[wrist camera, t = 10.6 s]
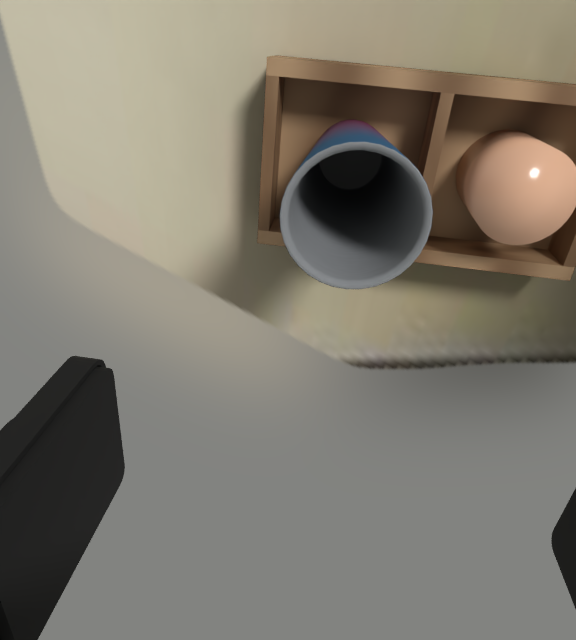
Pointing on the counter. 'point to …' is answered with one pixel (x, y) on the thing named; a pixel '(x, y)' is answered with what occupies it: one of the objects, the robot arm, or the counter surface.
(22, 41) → the counter surface
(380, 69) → the caddy
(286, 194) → the cup
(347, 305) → the counter surface
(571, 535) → the robot arm
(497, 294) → the counter surface
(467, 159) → the peach capsule shape
